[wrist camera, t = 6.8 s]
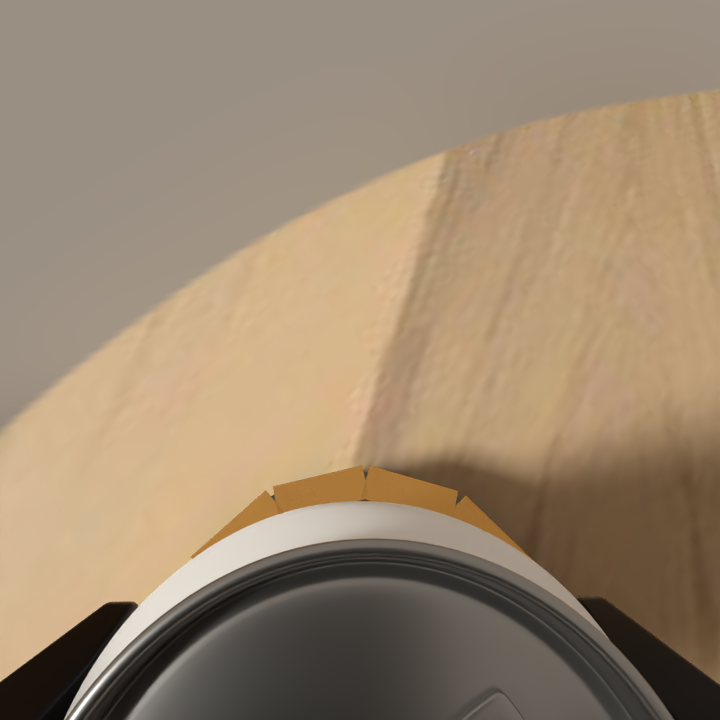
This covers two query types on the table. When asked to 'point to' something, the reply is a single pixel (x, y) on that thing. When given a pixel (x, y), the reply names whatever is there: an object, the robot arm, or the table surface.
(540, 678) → the can
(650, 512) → the table surface
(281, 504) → the ring plate
